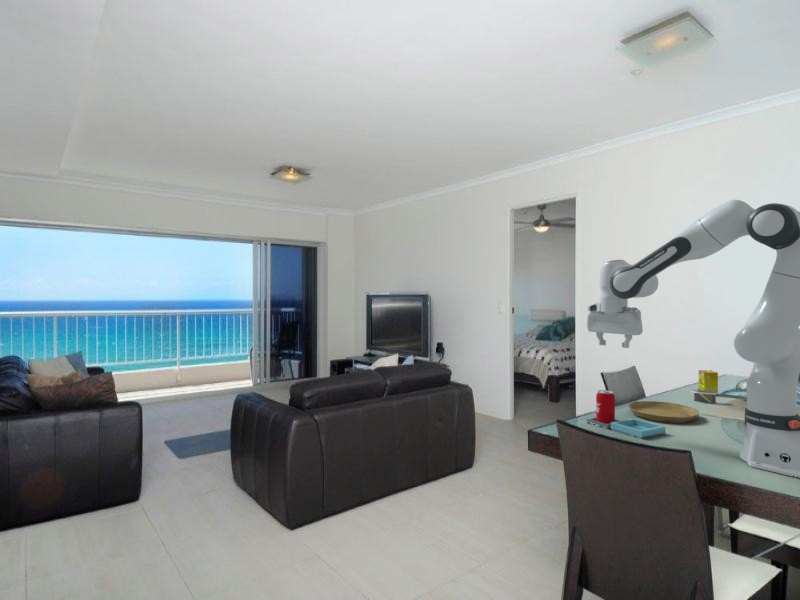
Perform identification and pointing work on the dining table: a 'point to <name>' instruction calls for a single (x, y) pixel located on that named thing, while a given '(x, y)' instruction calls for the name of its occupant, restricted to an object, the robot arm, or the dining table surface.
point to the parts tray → (638, 428)
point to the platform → (705, 395)
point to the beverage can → (605, 406)
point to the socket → (600, 422)
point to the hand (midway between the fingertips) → (613, 346)
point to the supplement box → (708, 380)
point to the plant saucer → (663, 411)
